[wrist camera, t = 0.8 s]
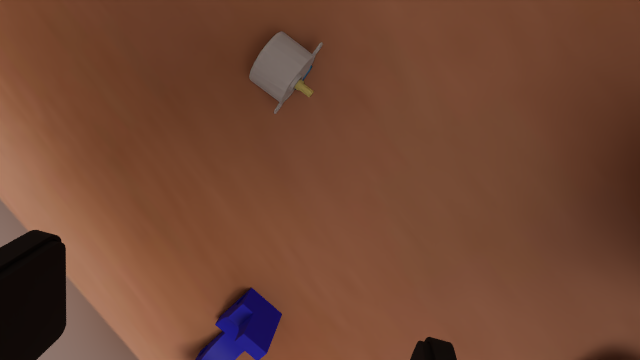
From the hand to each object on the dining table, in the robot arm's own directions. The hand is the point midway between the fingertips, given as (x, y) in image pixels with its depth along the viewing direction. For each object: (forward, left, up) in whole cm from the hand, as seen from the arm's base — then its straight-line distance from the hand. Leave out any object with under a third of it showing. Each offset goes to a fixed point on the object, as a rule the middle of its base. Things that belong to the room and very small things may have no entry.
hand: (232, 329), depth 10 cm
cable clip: (+17, +21, -27) cm, 38 cm away
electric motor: (+3, -5, -26) cm, 27 cm away
